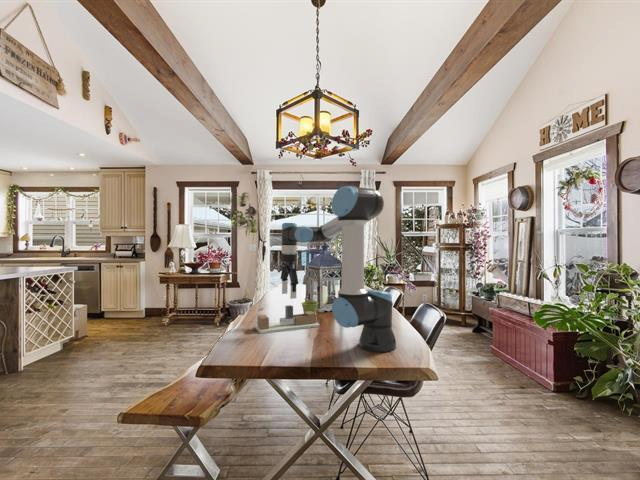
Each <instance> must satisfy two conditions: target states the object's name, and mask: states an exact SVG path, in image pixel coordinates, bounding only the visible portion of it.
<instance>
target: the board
mask: <svg viewBox="0 0 640 480" xmlns="http://www.w3.org/2000/svg"><path fill="white" fill-rule="evenodd" d="M297 316H300V317H297ZM293 317H295V324H292V325H283V326H281V325H280V321H279V322H272V323H271V322H270V317H268V316H267V315H266V314H259V315H258V314H257V324H255V325H254V328H255V329H256V330H257V331H258V333H259V334H260V335H261V334H262V335H263V334H270V333H271V334H272V333H279V332H286V331H289V332H290V331H295V330H296V329H297V330H303V328H306V329H312V328H311V327H315V328H320V324H319V323H318V322H317V313H316V314H315V313H313V312H312V311H307V312H303V313H298V314H293Z"/></svg>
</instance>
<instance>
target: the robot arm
mask: <svg viewBox="0 0 640 480" xmlns="http://www.w3.org/2000/svg"><path fill="white" fill-rule="evenodd" d="M384 207H385V202H384V197H383V195H382V194H381V193H380V192H379V191H377V189H374V188H367V187H360V186H354V185H347V186H346V185H345V186H340V187H339V188H338V189H337V190H336V192H335V193H334V194H333V196H332V199H331V210H332V212H333V214H334V215H335V216H336V217H334V218H332V219H331V220H329V221H327V222H326V223H324V224H323V225H320V226H303V225H302V226H298V225H297V223H296V222H283V223H282V225H281V262H282V268H281V275H280V280H281V294H282V295H284V294H285V295H287V294H288V281H289V280H290V284H289V285H290V294H289V295H290V298H289V299H291V300H292V299H297V285H299V279H298V272H297V264H296V263H295V264H294V262H297V260H298V259H297V258H298V256H297V251H298V250H297V249H298V245H297V244H298V243H301V244H303V243H304V244H305V243H330V242H332V241H333V240H334V239H335V237H336V236H338V235H340V234H341V288H339V290H338V291H337V297H336V298H335V299H334V300H333V302H332V303H331V312H332V316H333V318H334V320H335V322H336V323H337V324H338V326H340V327H343V328H344V329H345V328H346V329H347V328H356V327H359V326H363V327H362V331H361V333H360V337H359V339H358V346H359V347H360V349H363V350H365V351H370V352H375V353H377V352H378V353H385V352H391V351H394V350H396V349H397V340H396V338H395V334H394V330H393V299H392V298H393V296H392V293H390V292H388V291H385V290H379V289H378V290H377V289H366V288H365V226H366V224H367V223H368V222H369V221H371V220H373V219H375V218H376V217H378V216H379V215H380V214H381V213H382V212H383V210H384ZM288 277H289V278H288Z"/></svg>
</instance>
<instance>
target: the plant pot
mask: <svg viewBox="0 0 640 480" xmlns="http://www.w3.org/2000/svg"><path fill="white" fill-rule="evenodd" d="M318 305H319V302H316V301H304V302H301V306H302V311H303V313H304V312H307V311H312V312H313V313H315V314H316V315H317V309H318Z"/></svg>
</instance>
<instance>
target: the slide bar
mask: <svg viewBox="0 0 640 480" xmlns="http://www.w3.org/2000/svg"><path fill="white" fill-rule="evenodd" d="M284 308H285V309H284V310H285V312H284V314H285V317H280V318H279V322H280V325H281V326H283V325H292V324H295V317H293V315H294V306H293V305H291V304H288V305H285V306H284ZM297 317H300V316H297Z"/></svg>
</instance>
